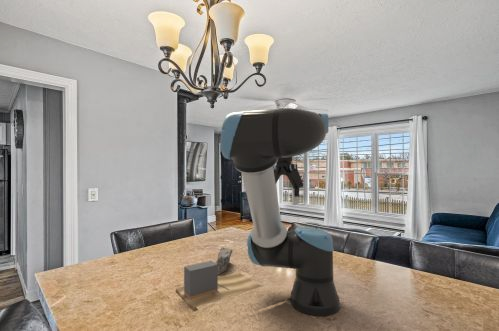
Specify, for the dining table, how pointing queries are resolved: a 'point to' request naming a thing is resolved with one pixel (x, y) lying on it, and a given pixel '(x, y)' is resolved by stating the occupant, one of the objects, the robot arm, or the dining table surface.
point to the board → (221, 289)
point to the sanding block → (200, 279)
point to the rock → (223, 259)
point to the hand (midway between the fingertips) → (283, 203)
